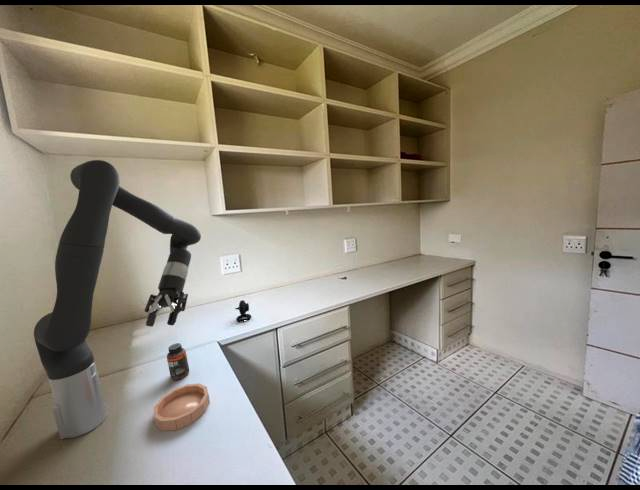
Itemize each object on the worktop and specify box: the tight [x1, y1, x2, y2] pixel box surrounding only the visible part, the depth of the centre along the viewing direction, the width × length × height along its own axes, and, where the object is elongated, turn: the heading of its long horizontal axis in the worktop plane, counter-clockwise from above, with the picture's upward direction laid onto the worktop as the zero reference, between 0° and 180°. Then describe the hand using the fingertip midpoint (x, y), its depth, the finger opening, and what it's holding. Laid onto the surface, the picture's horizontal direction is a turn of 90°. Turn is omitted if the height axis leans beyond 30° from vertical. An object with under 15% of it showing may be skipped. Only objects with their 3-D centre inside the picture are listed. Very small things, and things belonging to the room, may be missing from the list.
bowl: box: [152, 382, 211, 432], centre depth 75 cm, size 14×14×3 cm
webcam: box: [235, 299, 252, 322], centre depth 133 cm, size 8×8×10 cm
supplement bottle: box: [166, 343, 190, 381], centre depth 91 cm, size 6×6×11 cm
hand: (159, 325), depth 82 cm, fingers open, 8 cm apart
